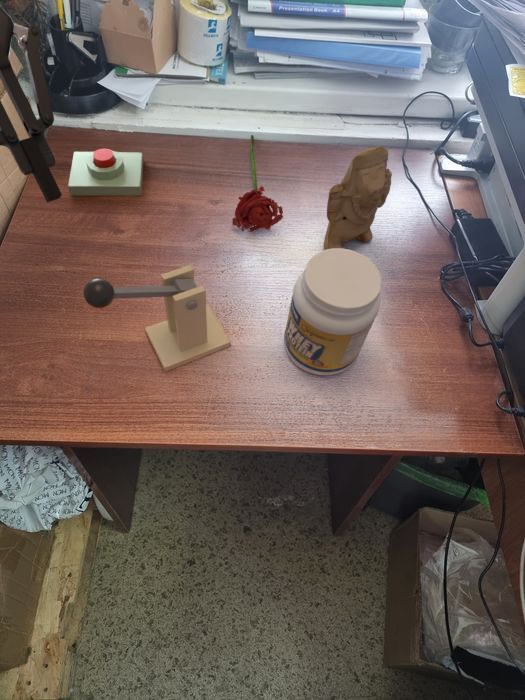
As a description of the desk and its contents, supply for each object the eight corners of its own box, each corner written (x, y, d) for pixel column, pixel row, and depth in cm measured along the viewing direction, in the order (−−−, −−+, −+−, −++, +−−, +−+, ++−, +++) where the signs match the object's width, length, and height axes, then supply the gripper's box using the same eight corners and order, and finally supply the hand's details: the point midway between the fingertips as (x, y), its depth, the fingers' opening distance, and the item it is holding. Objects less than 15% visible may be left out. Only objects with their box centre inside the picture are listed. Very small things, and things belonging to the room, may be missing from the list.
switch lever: (86, 314, 61) (92, 293, 59) (76, 293, 63) (83, 272, 60) (193, 308, 71) (202, 290, 68) (183, 290, 72) (191, 272, 70)
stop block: (70, 195, 95) (65, 178, 91) (76, 161, 100) (71, 143, 97) (141, 195, 96) (138, 178, 93) (143, 161, 101) (141, 144, 98)
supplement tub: (267, 344, 80) (277, 273, 66) (316, 302, 85) (336, 229, 71) (325, 393, 76) (350, 330, 62) (373, 346, 81) (406, 278, 67)
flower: (240, 167, 113) (245, 249, 94) (220, 129, 107) (220, 209, 87) (278, 149, 111) (291, 230, 91) (260, 109, 104) (269, 187, 84)
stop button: (94, 168, 94) (92, 160, 92) (95, 156, 96) (94, 148, 94) (114, 168, 94) (112, 160, 93) (115, 156, 96) (113, 148, 95)
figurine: (327, 268, 90) (352, 175, 73) (306, 241, 93) (326, 146, 76) (384, 247, 94) (421, 154, 77) (362, 221, 97) (393, 127, 80)
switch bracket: (164, 372, 76) (155, 318, 64) (145, 332, 80) (133, 274, 68) (230, 345, 79) (233, 290, 68) (209, 308, 83) (208, 250, 71)
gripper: (-141, -42, 45) (-3, 215, 52) (6, -65, 50) (113, 174, 57) (-123, -1, 51) (-3, 222, 59) (5, -25, 56) (101, 185, 63)
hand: (54, 198), depth 58 cm, fingers closed
